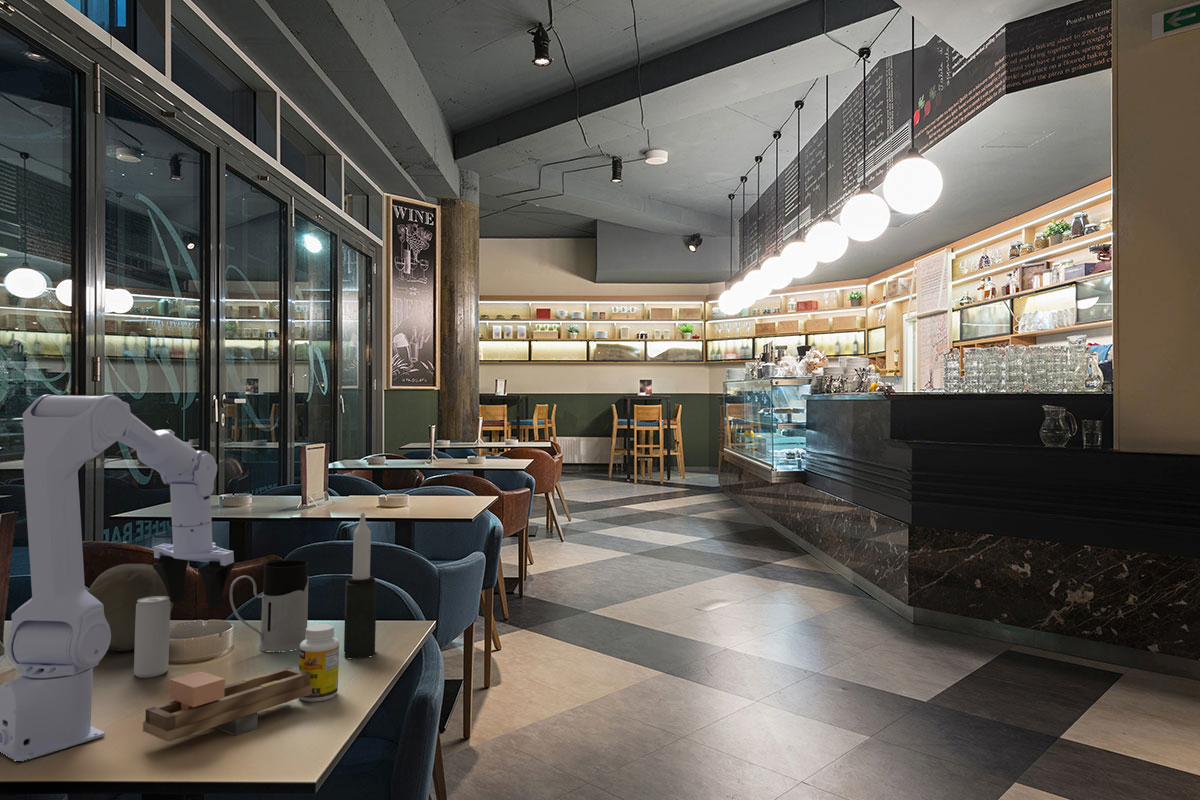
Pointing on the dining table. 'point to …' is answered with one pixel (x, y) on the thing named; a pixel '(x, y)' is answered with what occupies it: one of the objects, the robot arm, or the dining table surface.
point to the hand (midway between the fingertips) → (195, 602)
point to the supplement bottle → (320, 661)
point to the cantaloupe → (125, 599)
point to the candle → (360, 598)
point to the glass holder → (281, 605)
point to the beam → (229, 706)
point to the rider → (196, 689)
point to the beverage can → (152, 636)
